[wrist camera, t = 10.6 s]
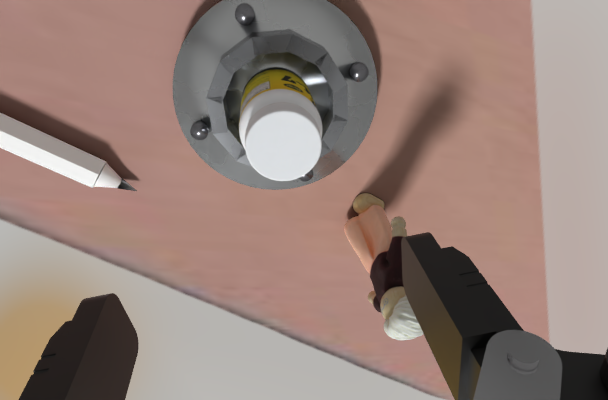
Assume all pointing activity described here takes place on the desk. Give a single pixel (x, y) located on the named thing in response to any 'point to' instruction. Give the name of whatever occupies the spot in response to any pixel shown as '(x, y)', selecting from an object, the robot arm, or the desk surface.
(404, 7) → the desk surface
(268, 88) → the supplement bottle
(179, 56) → the hub plate
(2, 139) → the white pencil
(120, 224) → the desk surface
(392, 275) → the grandmother figurine
